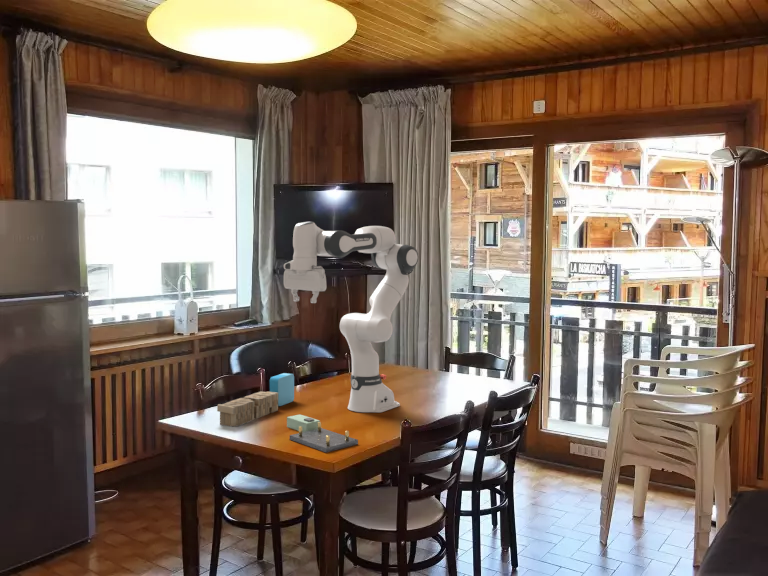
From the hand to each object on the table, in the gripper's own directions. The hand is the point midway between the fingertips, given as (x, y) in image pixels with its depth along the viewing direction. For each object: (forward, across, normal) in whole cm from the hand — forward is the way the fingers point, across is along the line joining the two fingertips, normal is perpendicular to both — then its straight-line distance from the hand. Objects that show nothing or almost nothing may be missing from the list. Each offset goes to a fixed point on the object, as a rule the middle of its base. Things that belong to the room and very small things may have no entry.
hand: (304, 302), depth 267 cm
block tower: (+46, +21, +10) cm, 52 cm away
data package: (+46, +29, -14) cm, 56 cm away
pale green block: (+46, -6, +6) cm, 47 cm away
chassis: (+46, -24, +13) cm, 53 cm away
